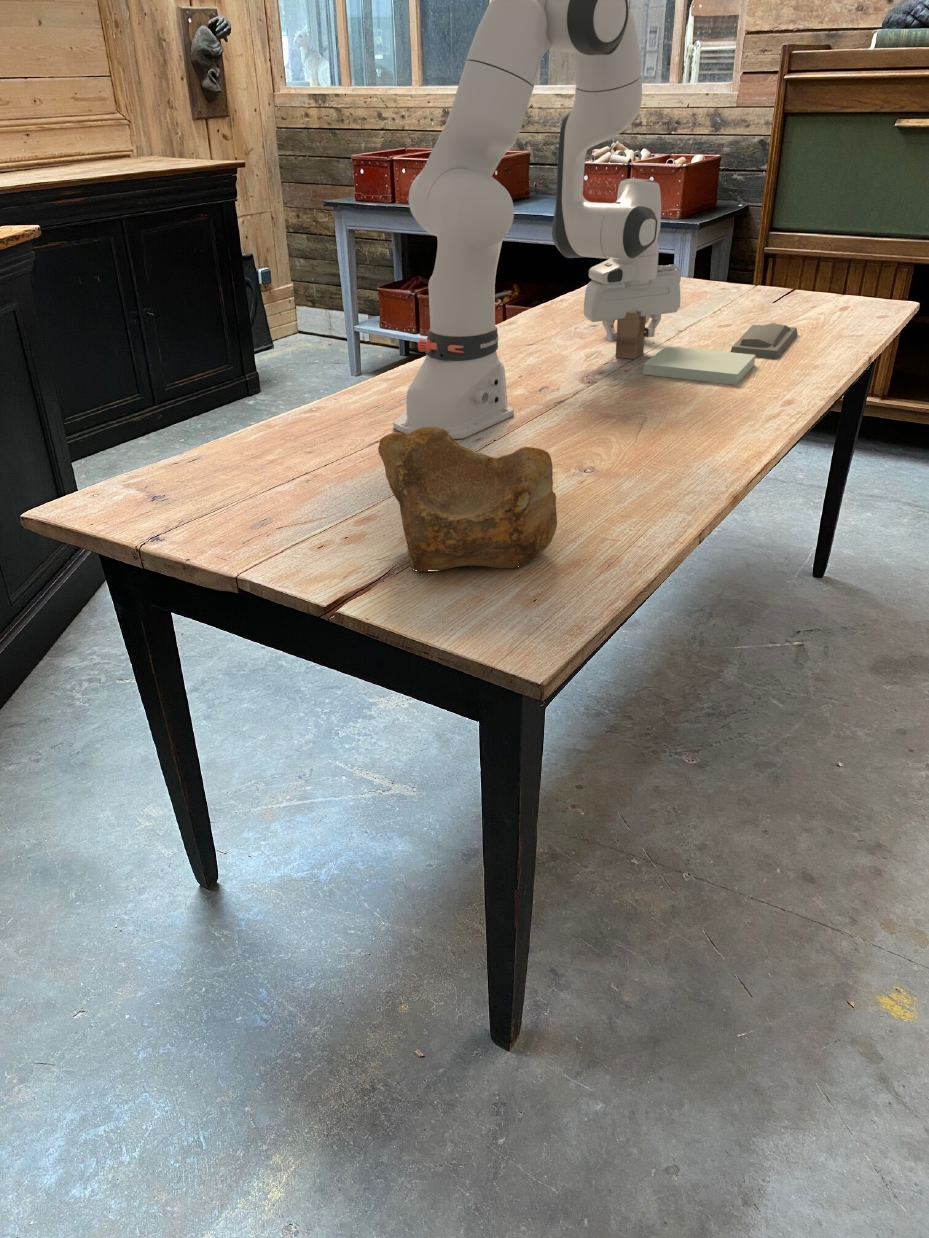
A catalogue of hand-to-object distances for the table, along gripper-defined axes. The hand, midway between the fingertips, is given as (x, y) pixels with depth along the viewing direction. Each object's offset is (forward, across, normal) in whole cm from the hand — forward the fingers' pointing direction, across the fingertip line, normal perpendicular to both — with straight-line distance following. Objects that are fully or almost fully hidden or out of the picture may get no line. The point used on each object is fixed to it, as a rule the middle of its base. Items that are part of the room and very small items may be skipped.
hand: (630, 339), depth 192 cm
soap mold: (+4, -29, +4) cm, 30 cm away
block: (+3, 0, 0) cm, 3 cm away
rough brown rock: (+4, +62, +73) cm, 96 cm away
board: (+3, -7, +15) cm, 17 cm away
